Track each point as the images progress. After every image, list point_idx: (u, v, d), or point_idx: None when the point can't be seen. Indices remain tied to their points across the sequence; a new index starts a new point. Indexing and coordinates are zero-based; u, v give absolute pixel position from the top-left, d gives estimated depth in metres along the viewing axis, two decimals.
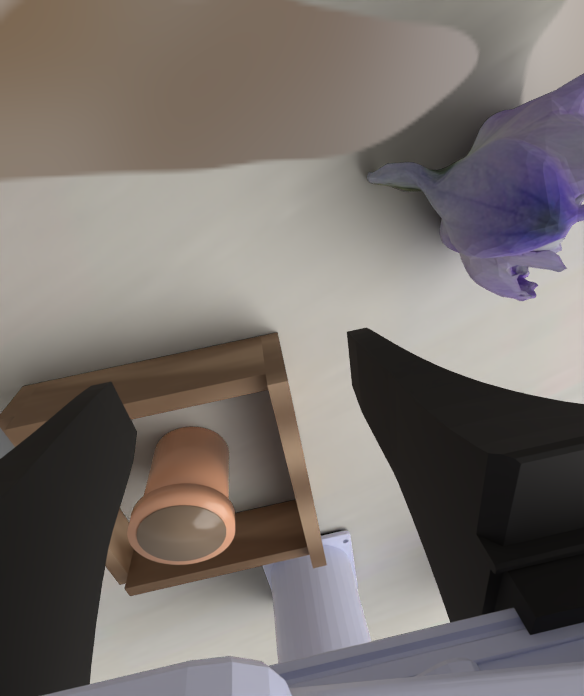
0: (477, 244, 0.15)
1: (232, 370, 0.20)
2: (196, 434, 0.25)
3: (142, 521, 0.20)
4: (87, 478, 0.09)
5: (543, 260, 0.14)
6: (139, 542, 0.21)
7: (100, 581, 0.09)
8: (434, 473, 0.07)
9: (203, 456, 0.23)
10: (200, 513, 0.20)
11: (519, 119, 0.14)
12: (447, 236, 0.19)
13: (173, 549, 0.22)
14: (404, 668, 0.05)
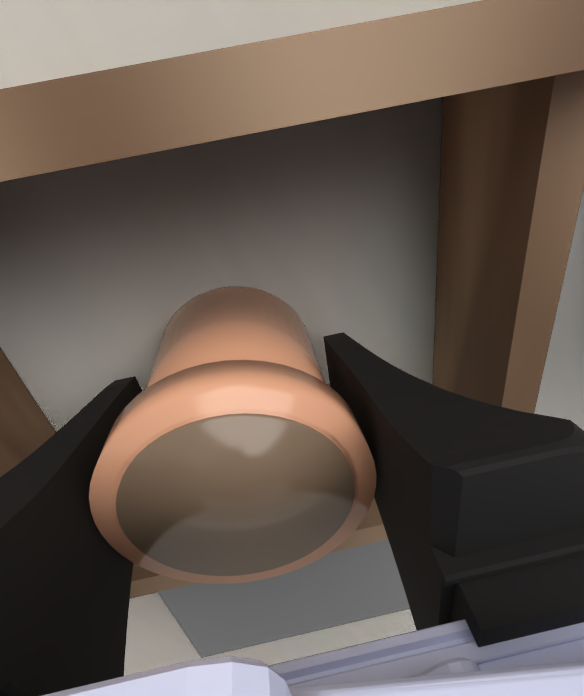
0: None
1: None
2: None
3: (179, 567, 0.09)
4: None
5: None
6: (254, 571, 0.09)
7: (129, 574, 0.09)
8: (396, 482, 0.07)
9: (151, 372, 0.10)
10: (146, 476, 0.07)
11: None
12: None
13: (296, 521, 0.08)
14: (404, 668, 0.05)
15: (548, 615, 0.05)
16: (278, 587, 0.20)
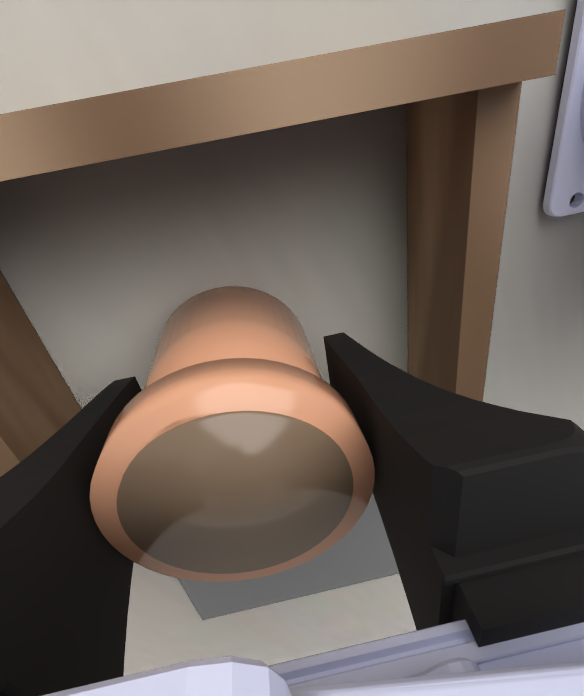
0: None
1: None
2: None
3: (179, 565, 0.09)
4: None
5: None
6: (254, 569, 0.09)
7: (129, 575, 0.09)
8: (396, 482, 0.07)
9: None
10: (146, 474, 0.07)
11: None
12: None
13: (295, 517, 0.08)
14: (404, 668, 0.05)
15: (548, 615, 0.05)
16: None
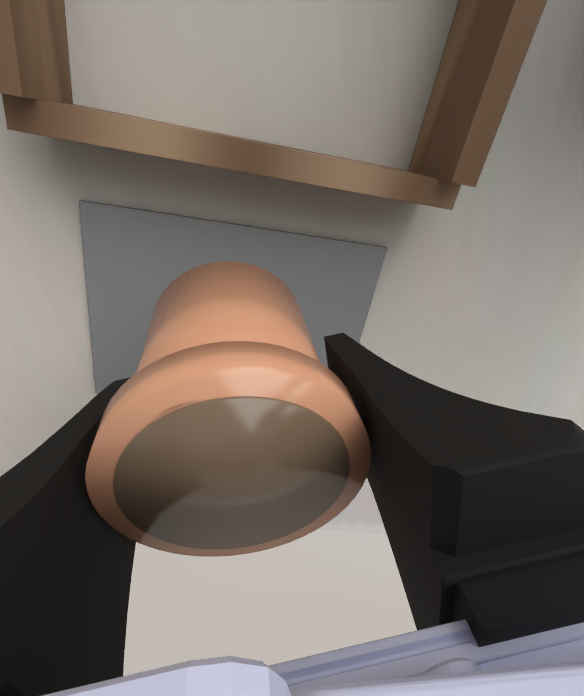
0: None
1: None
2: None
3: (175, 541, 0.09)
4: None
5: None
6: (248, 545, 0.09)
7: (129, 574, 0.09)
8: (396, 481, 0.07)
9: (143, 348, 0.10)
10: (144, 456, 0.07)
11: None
12: None
13: (291, 498, 0.08)
14: (404, 668, 0.05)
15: (549, 615, 0.05)
16: None
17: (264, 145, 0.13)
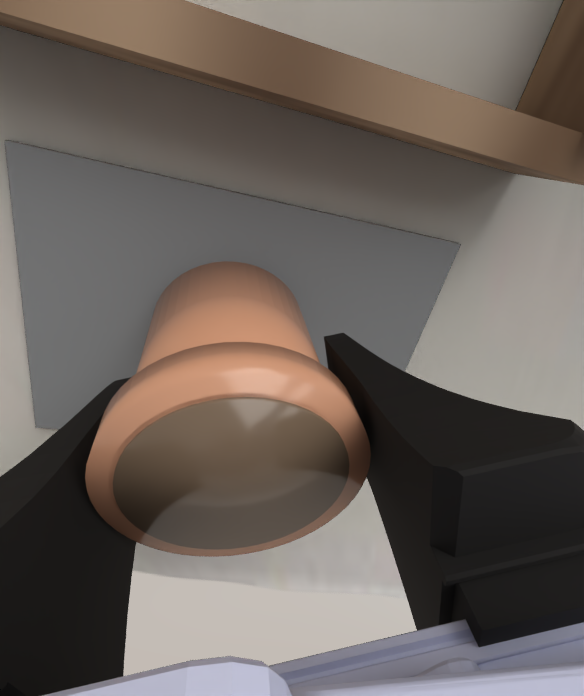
0: None
1: None
2: None
3: (174, 542, 0.09)
4: None
5: None
6: (247, 545, 0.09)
7: (129, 574, 0.09)
8: (396, 482, 0.07)
9: (143, 348, 0.10)
10: (144, 456, 0.07)
11: None
12: None
13: (291, 499, 0.08)
14: (404, 668, 0.05)
15: (548, 615, 0.05)
16: None
17: (315, 46, 0.08)
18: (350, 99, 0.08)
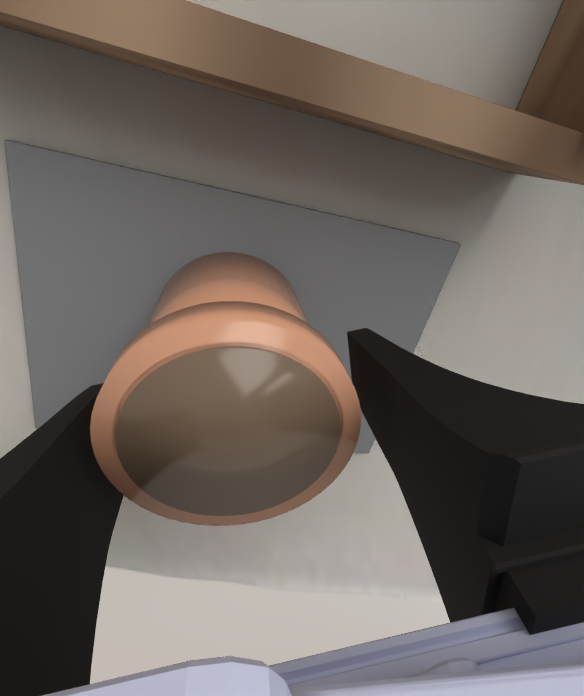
0: None
1: None
2: None
3: (173, 505, 0.09)
4: (87, 478, 0.09)
5: None
6: (244, 512, 0.09)
7: (100, 581, 0.09)
8: (434, 473, 0.07)
9: None
10: (145, 406, 0.07)
11: None
12: None
13: (285, 460, 0.09)
14: (404, 668, 0.05)
15: None
16: None
17: (315, 46, 0.08)
18: (350, 99, 0.08)
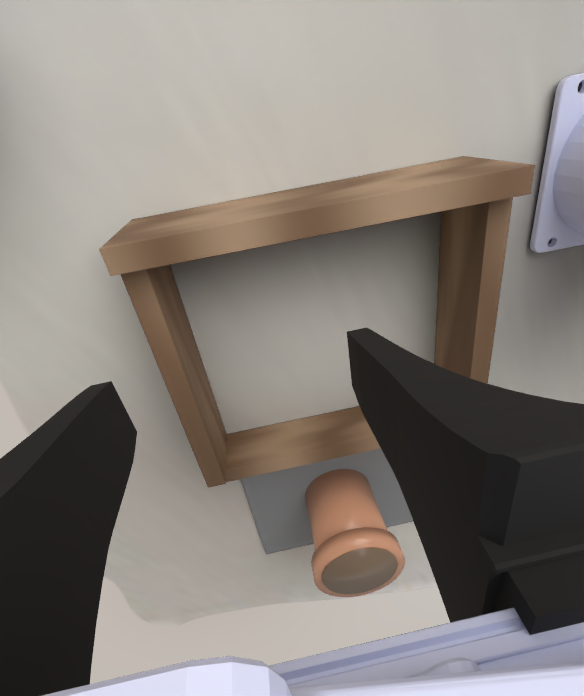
0: None
1: None
2: None
3: (345, 593, 0.25)
4: (87, 478, 0.09)
5: None
6: (372, 589, 0.25)
7: (99, 581, 0.09)
8: (434, 473, 0.07)
9: (311, 522, 0.26)
10: (329, 572, 0.23)
11: None
12: None
13: (380, 571, 0.24)
14: (404, 668, 0.05)
15: None
16: None
17: (345, 444, 0.23)
18: (362, 449, 0.23)
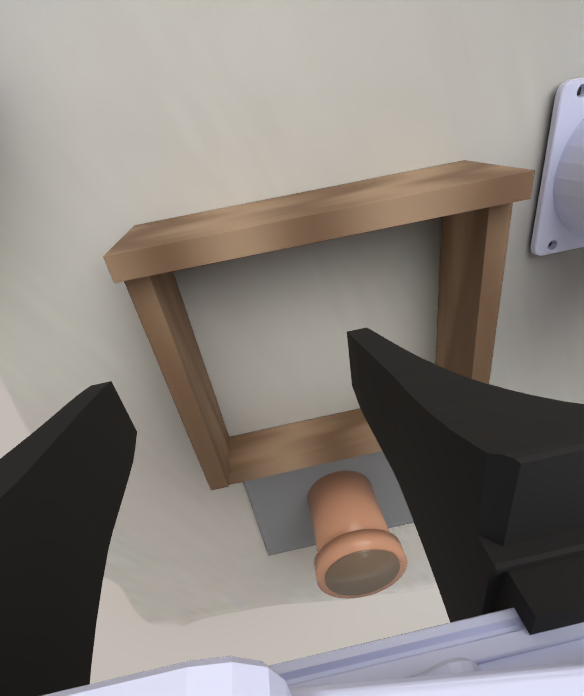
0: None
1: None
2: (309, 507, 0.28)
3: (348, 594, 0.25)
4: (87, 478, 0.09)
5: None
6: (374, 590, 0.25)
7: (99, 581, 0.09)
8: (434, 473, 0.07)
9: (313, 524, 0.26)
10: (332, 573, 0.23)
11: None
12: None
13: (382, 573, 0.24)
14: (404, 668, 0.05)
15: None
16: None
17: (347, 446, 0.23)
18: (363, 451, 0.23)
